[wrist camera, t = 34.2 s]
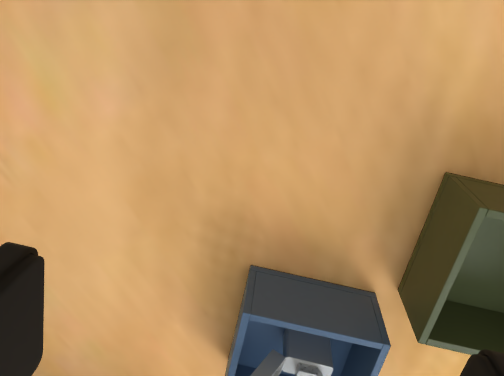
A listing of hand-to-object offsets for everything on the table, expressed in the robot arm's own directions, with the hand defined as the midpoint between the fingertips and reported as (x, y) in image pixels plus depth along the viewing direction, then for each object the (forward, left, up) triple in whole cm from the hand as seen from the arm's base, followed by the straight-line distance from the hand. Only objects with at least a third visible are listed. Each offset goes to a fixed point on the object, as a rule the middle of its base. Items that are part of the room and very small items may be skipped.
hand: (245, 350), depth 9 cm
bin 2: (+20, -8, -26) cm, 34 cm away
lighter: (+6, -20, -26) cm, 33 cm away
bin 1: (+7, -20, -26) cm, 34 cm away
